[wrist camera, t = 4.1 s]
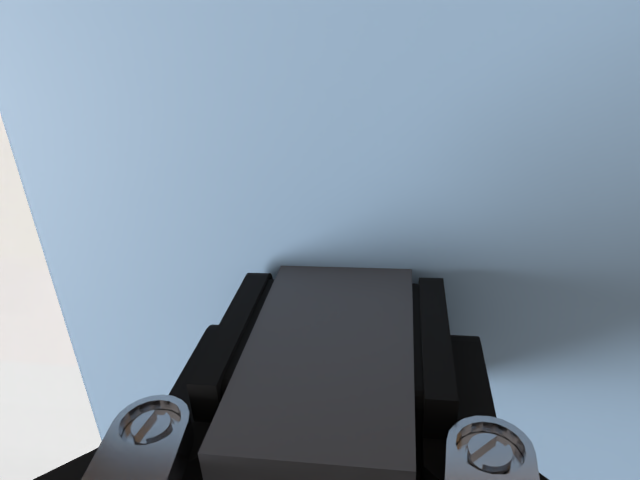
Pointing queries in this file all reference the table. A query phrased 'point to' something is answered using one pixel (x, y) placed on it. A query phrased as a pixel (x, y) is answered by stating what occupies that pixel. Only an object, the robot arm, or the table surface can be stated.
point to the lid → (341, 212)
